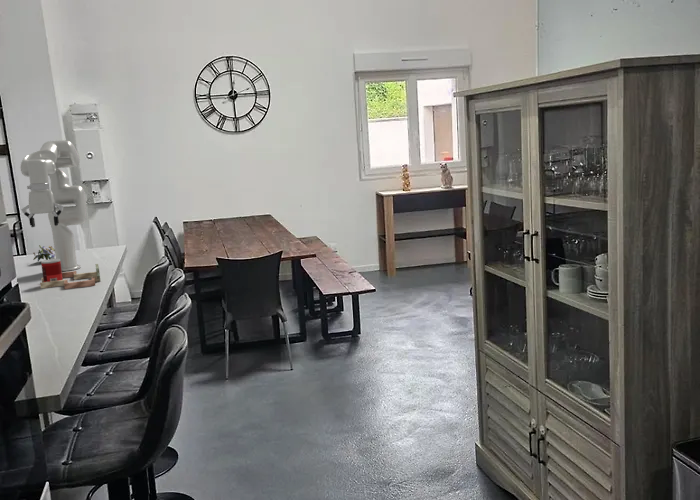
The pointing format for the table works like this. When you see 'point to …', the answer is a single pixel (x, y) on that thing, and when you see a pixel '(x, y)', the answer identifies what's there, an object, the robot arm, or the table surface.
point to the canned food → (51, 270)
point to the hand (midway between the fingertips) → (44, 226)
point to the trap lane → (93, 275)
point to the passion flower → (45, 253)
